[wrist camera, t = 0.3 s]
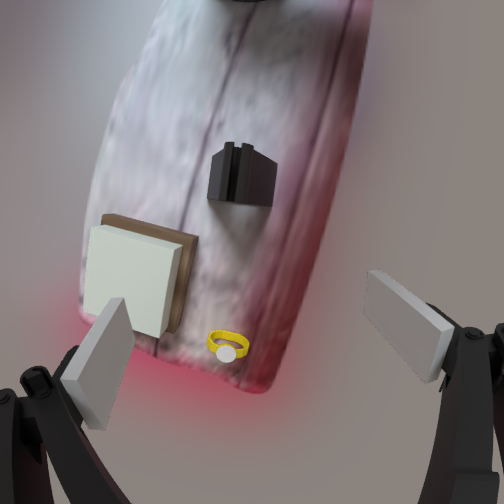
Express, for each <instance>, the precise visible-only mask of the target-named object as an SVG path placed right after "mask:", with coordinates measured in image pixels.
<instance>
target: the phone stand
mask: <svg viewBox="0 0 504 504" xmlns="http://www.w3.org/2000/svg"><path fill="white" fill-rule="evenodd" d="M234 143H235V142H226V143H225V145H224V149H223V150H221V151H220V152H218V153H217V154H215V155H213V156H212V163H211V170H210V178H209V186H208V193H207V199H214V200H221V201H230V202H237V203H247V204H255V205H264V206H272V202H273V195H274V187H275V179H276V172H277V163H276V162H274V161H272V160H271V159H269V158H267V157H266V156H264V155H262V154H260V153H259V152H257V151H255V150H254V149H253V148H254V146H252V145H250V144H246V143H242V147H241V148H239V147H234Z"/></svg>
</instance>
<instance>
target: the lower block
mask: <svg viewBox="0 0 504 504" xmlns="http://www.w3.org/2000/svg"><path fill="white" fill-rule="evenodd" d="M101 225H109V226H113V227H116V228H120V229H124V230H127V231H131V232H135V233H139V234H142V235H146V236H150V237H154V238H157V239H161V240H165V241H169V242H173V243H176V244H180V245H183V247H182V252H181V257H180V262H179V267H178V272H177V277H176V283H175V288H174V294H173V299H172V305H171V311H170V317H169V323H168V327H167V328H166V330H165V331H166V332H169V333H173V334H174V332H175V331H176V329H177V328H178V326H179V325H180V320H181V315H182V310H183V305H184V300H185V295H186V290H187V285H188V281H189V276H190V271H191V267H192V262H193V258H194V254H195V249H196V245H197V241H198V236H196V235H192V234H188V233H184V232H181V231H177V230H173V229H169V228H166V227H162V226H158V225H154V224H151V223H147V222H143V221H139V220H136V219H132V218H128V217H124V216H121V215H117V214H104V215H102V220H101Z"/></svg>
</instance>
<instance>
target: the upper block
mask: <svg viewBox="0 0 504 504" xmlns="http://www.w3.org/2000/svg"><path fill="white" fill-rule="evenodd" d="M182 247H183V245H180V244H176V243H173V242H169V241H165V240H161V239H157V238H154V237H150V236H146V235H142V234H139V233H135V232H131V231H127V230H124V229H120V228H116V227H113V226H109V225H101V226H95V227H91V232H90V239H89V247H88V255H87V264H86V275H85V288H84V305H83V311H85V312H88V313H90V314H93V315H95V316H98V317H99V315H100V313H101V312H102V311H103V309H104V308H105V306H106V305H107V303H108V302H109V300H110V299H111V298H119V297H124V300H125V304H126V308H127V311H128V315H129V318H130V322H131V325H132V329H133V330H136V331H138V332H141V333H144V334H147V335H150V336H153V337H156V338H160V336H161V335H162V334H163V332H164V331H165V330H166V328H167V327H168V323H169V317H170V311H171V305H172V299H173V294H174V288H175V283H176V277H177V272H178V267H179V262H180V257H181V252H182Z"/></svg>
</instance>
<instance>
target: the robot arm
mask: <svg viewBox="0 0 504 504" xmlns="http://www.w3.org/2000/svg"><path fill="white" fill-rule="evenodd" d="M235 1H243V2H254V1H263V0H235ZM364 315H365V316H366V317H367V318H368V319H369V320H370V322H371V323H372V324H373V325H374V326H375V327H376V328H377V329H378V331H379V332H380V333H381V334H382V335H383V336H384V337H385V338H386V340H387V341H388V342H389V343H390V344H391V345H392V346H393V348H394V349H395V350H396V351H397V352H398V354H399V355H400V356H401V357H402V358H403V359H404V361H405V362H406V363H407V364H408V365H409V366H410V367H411V369H412V370H413V371H414V372H415V374H416V375H417V376H418V377H419V378H420V380H421V381H422V382H423V383H424V384H427V383H430V382H432V381H434V380H436V379H438V377H439V373H440V371H441V368H442V369H443V370H444V371H445V373H446V375H445V377H444V380H443V382H442V385H441V387H440V390H439V392H441V391H442V398H441V406H440V413H439V420H438V425H437V431H436V436H435V441H434V446H433V450H432V455H431V459H430V463H429V467H428V471H427V475H426V478H425V482H424V485H423V488H422V492H421V495H420V498H419V501H418V504H497V497H498V490H499V481H500V480H499V474H498V472H493V471H492V455H493V425H494V429H495V433H496V437H497V441H498V446H499V451H500V455H501V461H502V467H503V473H504V323H500V324H498V325H497V326H496V329H495V332H494V334H488V335H485V334H484V333H483V332H482V331H481V330H479V329H477V328H473V327H465V328H462V327H460V326H459V325H458V324H457V323H456V322H454V321H453V320H452V319H451V318H449V317H448V316H446V315H445V314H444V313H443V312H441V311H440V310H439V309H438V308H437V307H435V306H433V305H431V304H428V303H424V302H423V301H421V300H420V299H419V298H418V297H416V296H415V295H414V294H412V293H411V292H410V291H409V290H407V289H406V288H405V287H403V286H402V285H401V284H399V283H398V282H397V281H395V280H394V279H393V278H391V277H390V276H389V275H387V274H386V273H385V272H383V271H382V270H380V269H375V270H368V275H367V287H366V297H365V308H364ZM135 343H136V339H135V336H134V332H133V329H132V325H131V322H130V318H129V315H128V311H127V308H126V304H125V300H124V297H119V298H111V299H110V300H109V302H108V303H107V305H106V306H105V308H104V309H103V311H102V312H101V313H100V315H99V317H98V318H97V320H96V321H95V323H94V324H93V326H92V327H91V329H90V330H89V332H88V333H87V335H86V337H85V338H84V340H83V342H82V343H81V345H76V346H74V347H73V348H72V349H70V350H69V351H68V352H67V354H66V355H65V357H64V358H63V360H62V361H61V364H60V366H58V368H57V370H56V371H55V373H54V375H53V376H52V377H51V375H50V374H49V372H48V370H47V369H46V367H43V366H34V367H31V368H29V369H28V370H26V371H25V372H24V373H23V374H22V375H21V377H20V383H21V385H22V387H23V388H24V390H25V392H26V393H27V395H28V396H27V397H19V398H18V397H17V395H16V394H15V392H14V391H13V390H12V389H9V388H7V389H6V388H5V389H2V390H0V504H54V500H53V495H52V489H51V484H50V478H49V470H48V463H47V454H46V450H47V453H48V455H49V458H50V460H51V463H52V465H53V467H54V470H55V472H56V474H57V477H58V479H59V481H60V483H61V485H62V487H63V489H64V491H65V493H66V495H67V497H68V499H69V501H70V503H71V504H131V503H130V501H129V500H128V499H127V497H126V496H125V495H124V493H123V492H122V491H121V489H120V488H119V487H118V485H117V484H116V482H115V481H114V480H113V478H112V477H111V475H110V474H109V472H108V471H107V469H106V468H105V466H104V465H103V463H102V462H101V460H100V458H99V457H98V455H97V454H96V452H95V450H94V448H93V447H92V445H91V444H90V442H89V440H88V438H87V436H86V435H85V433H84V431H83V430H82V428H81V424H82V422H83V420H84V421H85V423H86V425H87V426H88V428H89V429H94V430H104V431H105V430H106V426H107V423H108V420H109V417H110V413H111V410H112V407H113V404H114V401H115V398H116V395H117V392H118V390H119V387H120V384H121V380H122V378H123V375H124V372H125V369H126V367H127V364H128V361H129V359H130V356H131V353H132V351H133V348H134V345H135ZM442 389H443V390H442Z"/></svg>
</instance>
